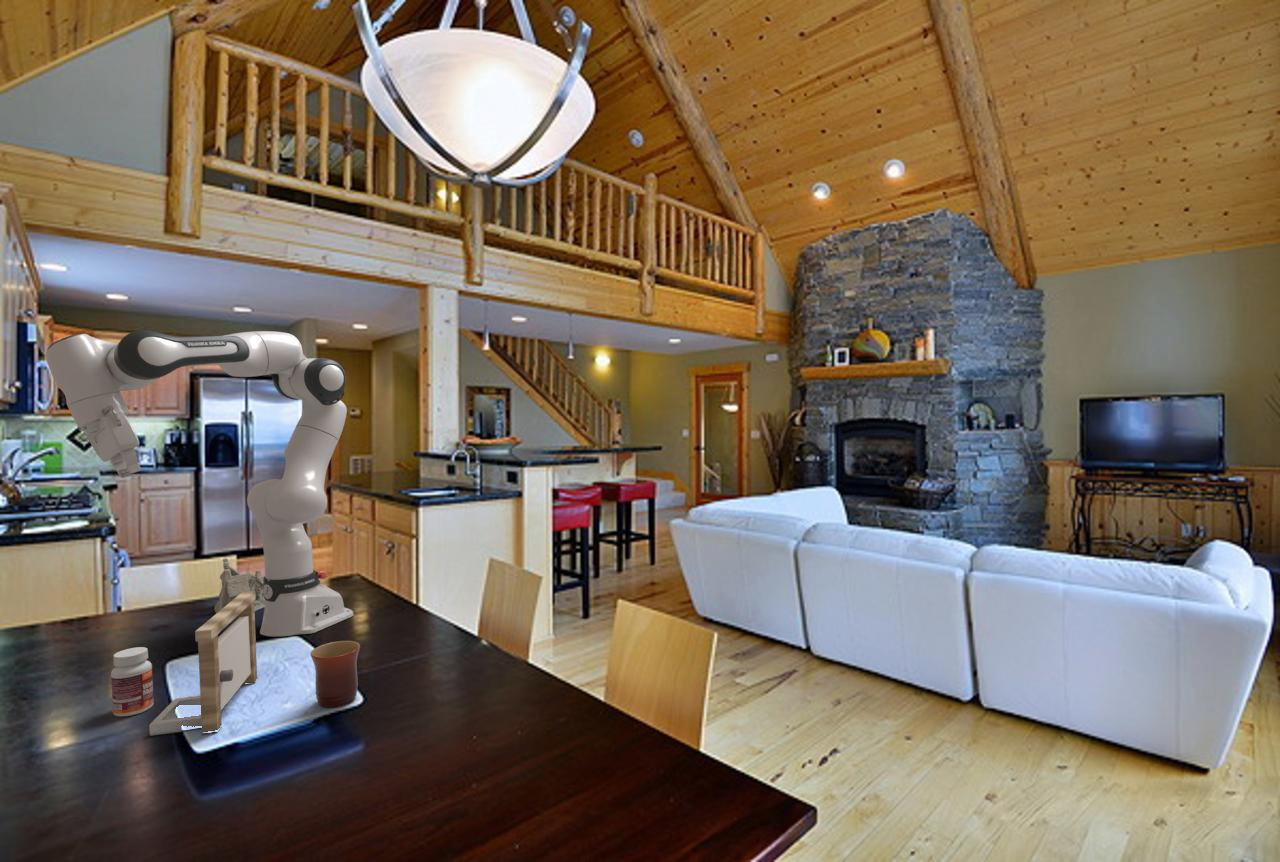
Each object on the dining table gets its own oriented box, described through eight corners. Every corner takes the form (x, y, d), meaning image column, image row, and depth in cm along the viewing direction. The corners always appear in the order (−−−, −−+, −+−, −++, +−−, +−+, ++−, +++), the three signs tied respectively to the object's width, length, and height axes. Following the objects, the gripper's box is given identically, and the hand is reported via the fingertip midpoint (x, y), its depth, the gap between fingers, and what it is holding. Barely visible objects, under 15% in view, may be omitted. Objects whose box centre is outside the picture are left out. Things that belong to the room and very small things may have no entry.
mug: (352, 709, 120) (350, 656, 119) (304, 712, 119) (302, 658, 119) (373, 682, 132) (371, 634, 131) (330, 684, 131) (328, 635, 131)
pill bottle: (152, 711, 120) (149, 653, 120) (110, 721, 117) (107, 660, 117) (155, 699, 126) (152, 643, 125) (115, 708, 122) (112, 650, 122)
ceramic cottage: (212, 619, 174) (215, 564, 174) (215, 606, 188) (217, 555, 188) (278, 612, 182) (279, 560, 183) (275, 600, 196) (277, 551, 197)
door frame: (245, 679, 134) (242, 591, 134) (258, 677, 135) (255, 590, 134) (199, 737, 110) (195, 631, 110) (215, 735, 111) (210, 629, 110)
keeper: (175, 709, 121) (174, 698, 121) (228, 702, 124) (227, 692, 124) (149, 735, 111) (149, 724, 111) (208, 728, 114) (207, 717, 114)
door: (242, 674, 131) (239, 617, 131) (259, 672, 132) (257, 615, 131) (208, 714, 114) (206, 648, 113) (229, 711, 115) (226, 646, 114)
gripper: (129, 399, 126) (160, 463, 128) (110, 416, 139) (138, 474, 142) (90, 408, 121) (122, 474, 123) (74, 425, 135) (104, 484, 137)
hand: (131, 474), depth 133 cm, fingers open, 8 cm apart
